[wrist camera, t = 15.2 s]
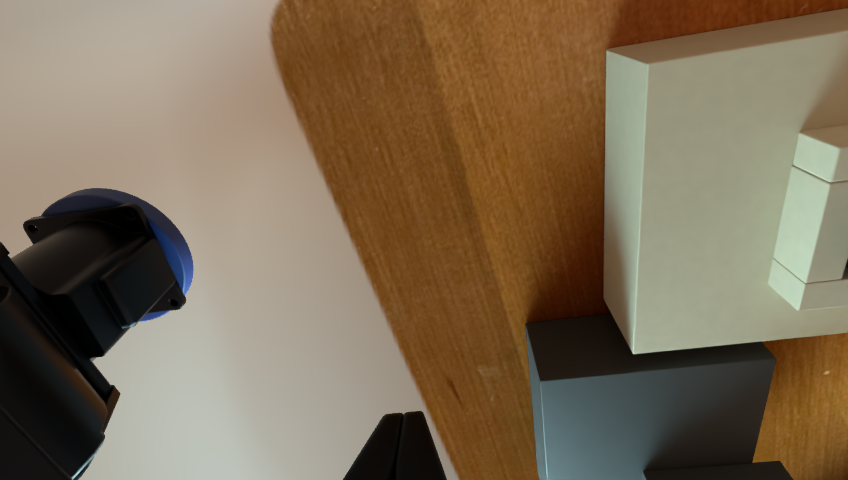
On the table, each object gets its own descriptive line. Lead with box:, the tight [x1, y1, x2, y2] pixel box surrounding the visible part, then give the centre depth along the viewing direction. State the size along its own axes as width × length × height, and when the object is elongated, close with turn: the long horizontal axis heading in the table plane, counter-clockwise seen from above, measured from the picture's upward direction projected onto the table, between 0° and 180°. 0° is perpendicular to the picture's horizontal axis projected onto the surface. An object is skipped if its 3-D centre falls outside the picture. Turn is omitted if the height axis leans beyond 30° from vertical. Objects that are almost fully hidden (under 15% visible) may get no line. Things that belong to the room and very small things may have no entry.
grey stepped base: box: [525, 314, 793, 480], centre depth 24 cm, size 11×13×6 cm
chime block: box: [603, 8, 848, 354], centre depth 18 cm, size 11×12×6 cm
